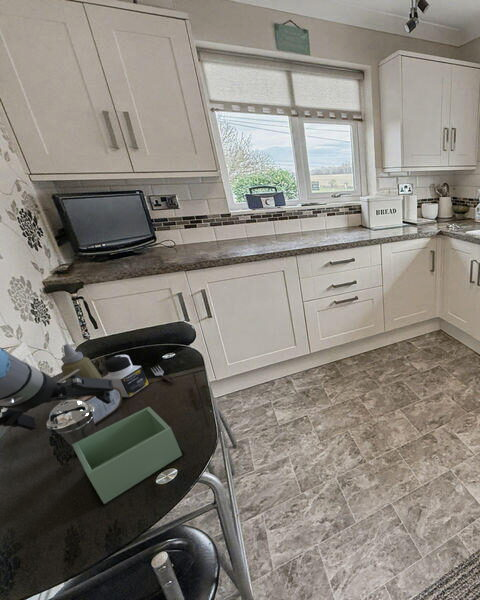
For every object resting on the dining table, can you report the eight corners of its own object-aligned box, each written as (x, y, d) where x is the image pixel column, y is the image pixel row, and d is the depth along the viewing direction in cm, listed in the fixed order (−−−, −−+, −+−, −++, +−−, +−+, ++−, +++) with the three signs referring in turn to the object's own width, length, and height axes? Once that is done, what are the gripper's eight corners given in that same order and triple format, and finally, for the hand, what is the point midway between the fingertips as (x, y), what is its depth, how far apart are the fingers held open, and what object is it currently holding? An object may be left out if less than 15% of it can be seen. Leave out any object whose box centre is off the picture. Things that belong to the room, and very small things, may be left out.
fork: (168, 386, 105) (166, 381, 104) (152, 373, 114) (150, 368, 113) (177, 382, 107) (175, 377, 106) (160, 369, 116) (158, 364, 115)
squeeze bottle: (96, 399, 102) (70, 349, 95) (67, 404, 101) (39, 353, 94) (113, 384, 109) (90, 336, 103) (86, 389, 108) (61, 341, 102)
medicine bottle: (129, 397, 101) (113, 364, 97) (110, 397, 102) (94, 364, 98) (149, 384, 107) (135, 352, 103) (131, 383, 109) (117, 352, 105)
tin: (120, 402, 99) (109, 379, 96) (128, 403, 98) (117, 379, 95) (64, 440, 85) (48, 414, 82) (73, 441, 85) (58, 415, 82)
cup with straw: (66, 448, 82) (27, 382, 75) (112, 429, 87) (79, 365, 80) (65, 468, 76) (22, 397, 69) (114, 445, 81) (79, 378, 74)
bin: (87, 471, 74) (71, 444, 72) (160, 431, 85) (148, 406, 82) (104, 504, 66) (86, 475, 63) (182, 455, 76) (170, 428, 73)
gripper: (-87, 438, 54) (-2, 452, 71) (106, 378, 66) (138, 402, 84) (-87, 396, 56) (-5, 419, 73) (99, 346, 69) (132, 376, 86)
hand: (72, 410), depth 78 cm, fingers open, 13 cm apart
